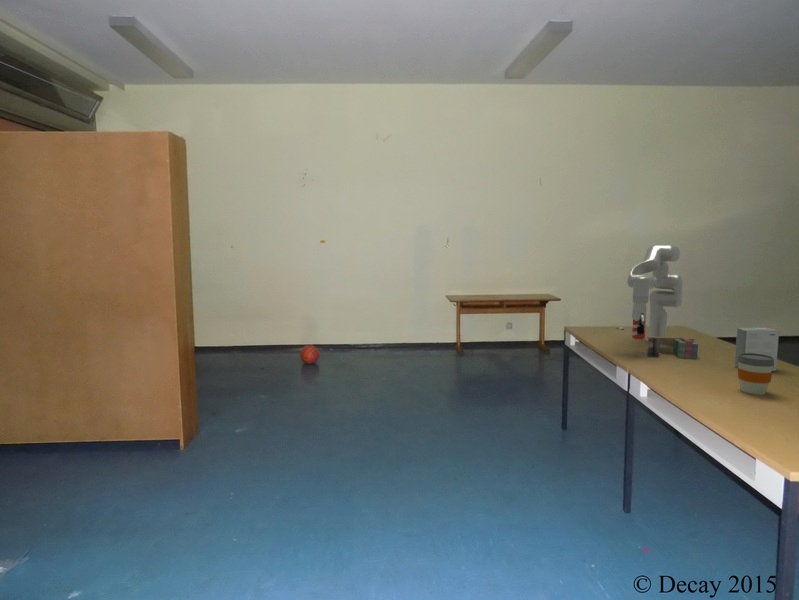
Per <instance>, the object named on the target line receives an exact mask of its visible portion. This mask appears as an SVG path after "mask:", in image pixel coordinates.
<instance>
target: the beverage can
mask: <svg viewBox="0 0 799 600" xmlns="http://www.w3.org/2000/svg"><path fill="white" fill-rule="evenodd" d="M639 321H641V320H639ZM646 323H647V321H645V322H644V334H637V326H638V320H637V321H635V320H634V319H633V318H632V331H631V333H632V334H631V335H632V336H631V337H632V339H633V340H637V341H642V340H644V339H646Z"/></svg>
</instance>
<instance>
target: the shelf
mask: <svg viewBox="0 0 799 600" xmlns="http://www.w3.org/2000/svg"><path fill="white" fill-rule="evenodd" d="M647 338H648V342H647V343H646V344H647V345H646V346H647V347H646V352H650V353H653V338H654V337H649V336H647ZM655 338H656V339H658V340H659V341H660V351H659V353H665V354H664V355H666V354H667V355H668V354H669V355H674V356H675V357H677V358H678V359H687V358H692V359H691V360H697V359H698V350H699V348H698V347H699V344H698V343H697V342H695V338H693V337H691V338H690V337H670V336H669V337H667V336H666V337H655Z"/></svg>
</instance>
